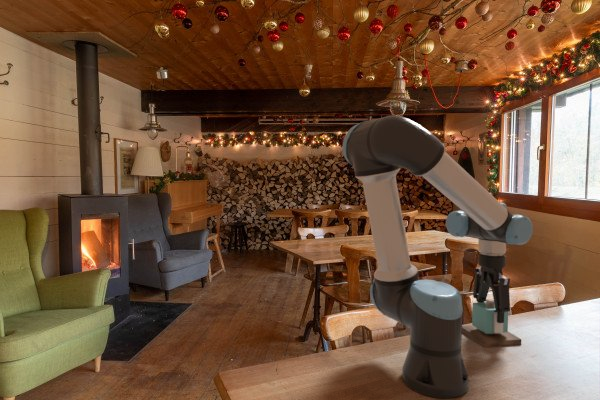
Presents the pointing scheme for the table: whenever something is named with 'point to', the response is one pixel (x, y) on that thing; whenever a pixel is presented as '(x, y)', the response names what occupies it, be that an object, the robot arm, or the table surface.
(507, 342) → the stand
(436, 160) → the robot arm
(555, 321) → the table surface
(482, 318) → the teal open box
